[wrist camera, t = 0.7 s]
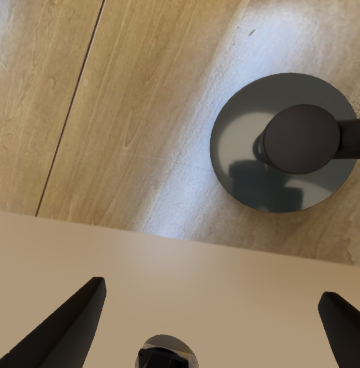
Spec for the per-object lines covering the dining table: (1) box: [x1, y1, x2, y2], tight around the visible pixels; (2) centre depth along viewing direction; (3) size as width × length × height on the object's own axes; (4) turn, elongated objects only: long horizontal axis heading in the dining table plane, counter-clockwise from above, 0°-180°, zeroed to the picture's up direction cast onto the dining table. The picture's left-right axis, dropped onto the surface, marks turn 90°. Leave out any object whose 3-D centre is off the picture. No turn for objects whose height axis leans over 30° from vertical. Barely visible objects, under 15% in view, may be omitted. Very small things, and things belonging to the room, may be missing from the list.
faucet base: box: [210, 73, 357, 213], centre depth 18 cm, size 12×12×6 cm
